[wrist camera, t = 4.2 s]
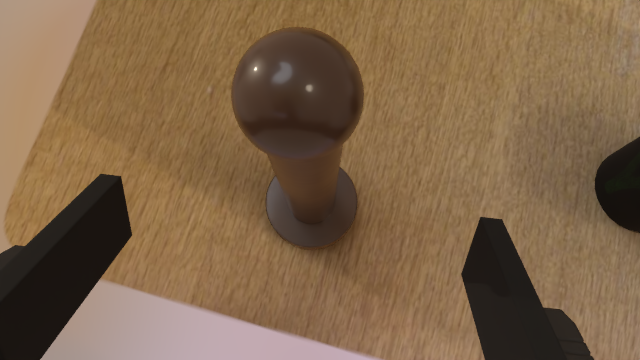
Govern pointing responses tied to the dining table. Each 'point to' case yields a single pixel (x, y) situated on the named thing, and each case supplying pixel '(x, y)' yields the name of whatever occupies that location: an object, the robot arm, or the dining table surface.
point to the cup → (621, 186)
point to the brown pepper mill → (302, 129)
